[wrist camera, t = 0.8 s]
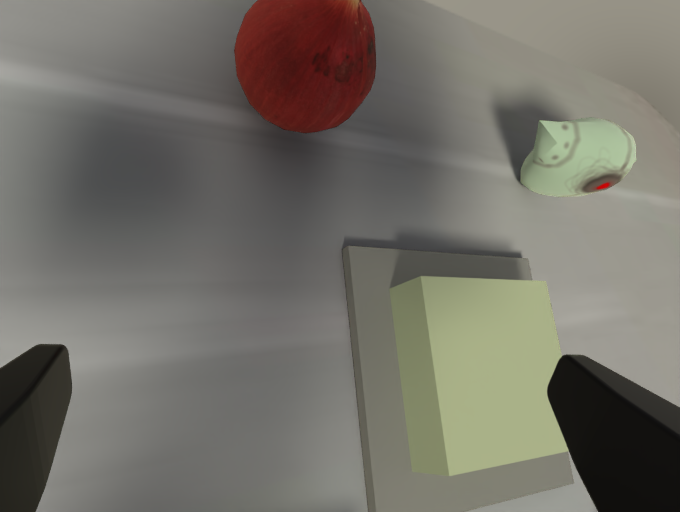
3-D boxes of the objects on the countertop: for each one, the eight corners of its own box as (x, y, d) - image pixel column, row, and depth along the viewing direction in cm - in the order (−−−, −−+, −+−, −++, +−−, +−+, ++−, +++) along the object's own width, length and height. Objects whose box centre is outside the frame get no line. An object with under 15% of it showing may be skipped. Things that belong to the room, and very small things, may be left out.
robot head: (560, 165, 34) (660, 114, 29) (574, 221, 33) (681, 180, 28) (474, 149, 30) (569, 86, 25) (486, 212, 29) (590, 161, 24)
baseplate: (564, 482, 26) (617, 487, 24) (370, 531, 20) (415, 545, 18) (520, 261, 30) (563, 246, 27) (342, 249, 24) (376, 228, 21)
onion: (346, 115, 26) (446, 9, 20) (288, 185, 23) (383, 89, 17) (260, 33, 25) (335, -109, 18) (187, 97, 22) (246, -46, 15)
